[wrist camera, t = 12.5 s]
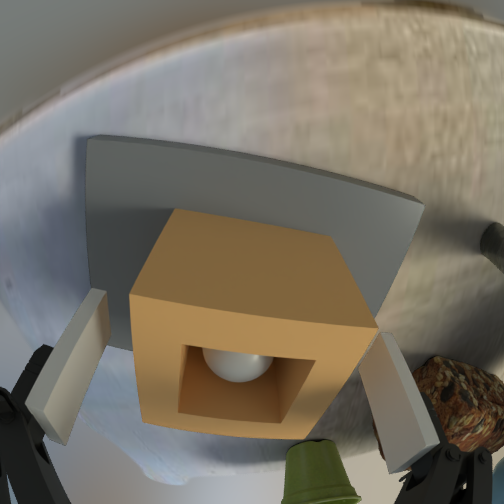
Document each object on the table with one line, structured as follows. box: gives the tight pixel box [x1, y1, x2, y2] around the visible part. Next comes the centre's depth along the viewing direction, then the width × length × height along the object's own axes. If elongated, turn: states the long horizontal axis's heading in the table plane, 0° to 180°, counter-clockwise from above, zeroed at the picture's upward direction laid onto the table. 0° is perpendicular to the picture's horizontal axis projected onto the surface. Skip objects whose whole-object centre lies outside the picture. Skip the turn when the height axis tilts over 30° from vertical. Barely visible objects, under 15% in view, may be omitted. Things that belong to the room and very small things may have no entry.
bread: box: [372, 356, 504, 471], centre depth 23 cm, size 19×11×10 cm, turn 62°
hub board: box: [85, 135, 426, 382], centre depth 15 cm, size 18×14×8 cm
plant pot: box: [281, 440, 362, 504], centre depth 27 cm, size 9×9×9 cm
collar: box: [129, 208, 379, 439], centre depth 14 cm, size 8×8×7 cm
